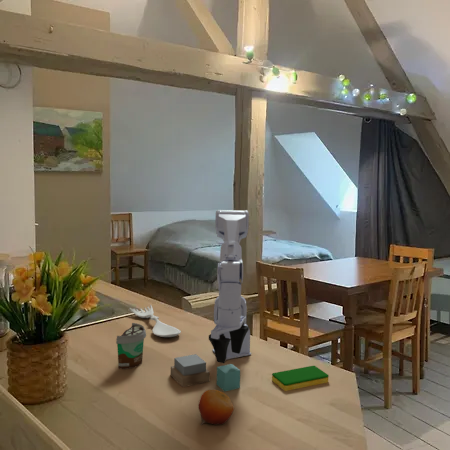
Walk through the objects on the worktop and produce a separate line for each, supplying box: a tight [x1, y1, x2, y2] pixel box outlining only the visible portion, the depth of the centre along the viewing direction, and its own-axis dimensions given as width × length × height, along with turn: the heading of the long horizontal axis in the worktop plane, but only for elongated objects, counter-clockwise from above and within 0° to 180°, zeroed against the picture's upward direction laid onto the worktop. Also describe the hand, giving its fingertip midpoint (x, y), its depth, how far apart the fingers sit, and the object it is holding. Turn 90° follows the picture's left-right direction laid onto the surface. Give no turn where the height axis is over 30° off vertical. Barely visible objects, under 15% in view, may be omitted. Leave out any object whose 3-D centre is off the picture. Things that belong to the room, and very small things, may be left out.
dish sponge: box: [271, 365, 330, 392], centre depth 139 cm, size 7×14×2 cm, turn 114°
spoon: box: [129, 304, 182, 338], centre depth 181 cm, size 9×32×4 cm, turn 29°
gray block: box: [173, 353, 207, 376], centre depth 140 cm, size 6×6×2 cm
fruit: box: [198, 389, 235, 426], centre depth 118 cm, size 8×8×8 cm
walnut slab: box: [170, 365, 211, 388], centre depth 140 cm, size 8×8×3 cm
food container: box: [115, 322, 147, 370], centre depth 149 cm, size 12×6×10 cm, turn 168°
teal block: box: [216, 363, 241, 392], centre depth 135 cm, size 4×4×5 cm
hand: (228, 357), depth 134 cm, fingers open, 7 cm apart
